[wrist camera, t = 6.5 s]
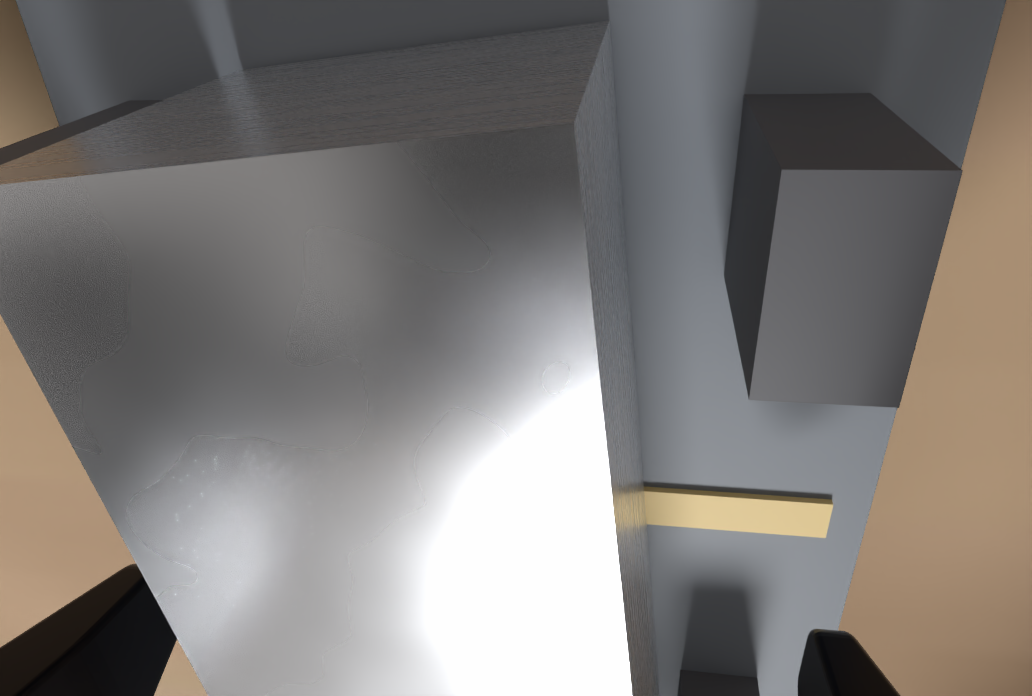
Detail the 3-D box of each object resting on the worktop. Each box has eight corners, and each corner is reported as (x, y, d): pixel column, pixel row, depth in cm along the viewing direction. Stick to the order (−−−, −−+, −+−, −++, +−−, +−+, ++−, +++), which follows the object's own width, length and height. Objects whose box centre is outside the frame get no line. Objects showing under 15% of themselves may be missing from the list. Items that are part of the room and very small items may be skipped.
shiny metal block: (663, 754, 13) (668, 1062, 10) (446, 740, 14) (378, 1020, 10) (608, 20, 7) (571, 128, 4) (238, 70, 8) (-80, 197, 5)
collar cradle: (775, 782, 15) (806, 1002, 12) (302, 722, 16) (225, 904, 13) (1017, -220, 7) (1312, -322, 4) (30, -153, 8) (-319, -183, 5)
